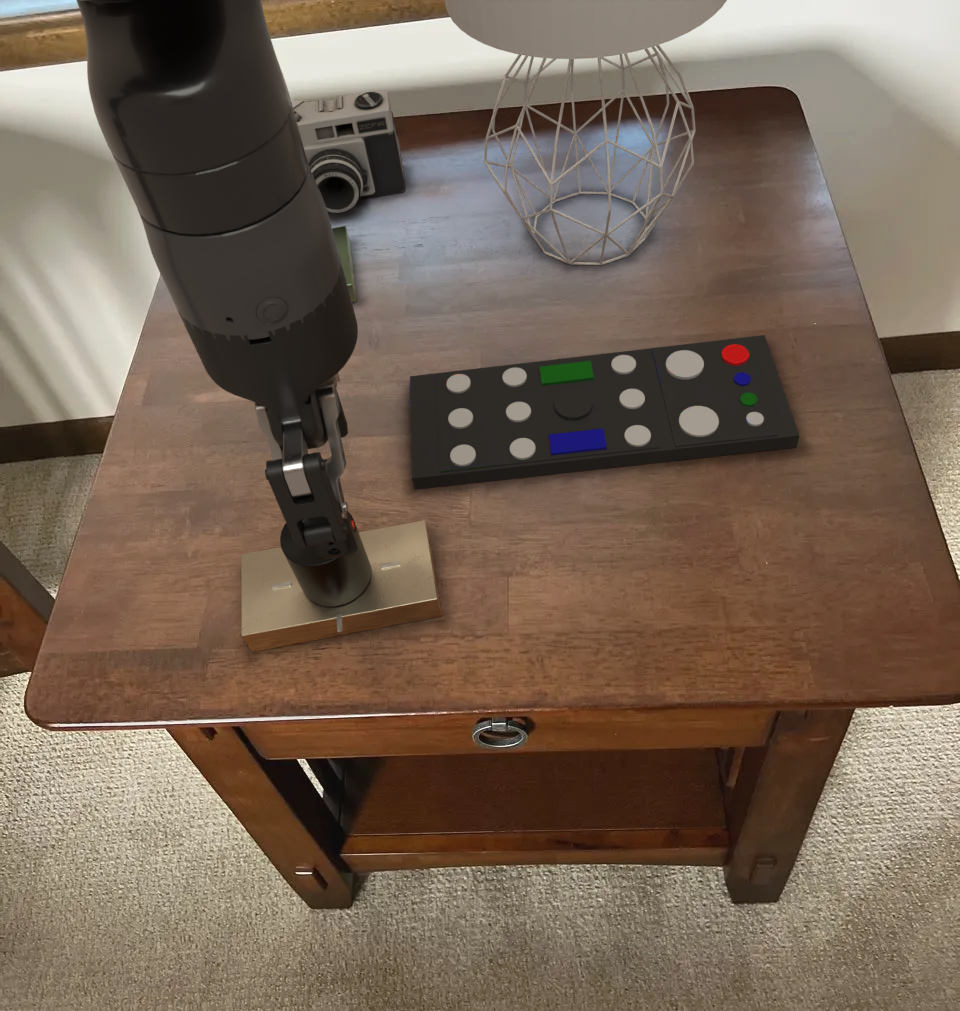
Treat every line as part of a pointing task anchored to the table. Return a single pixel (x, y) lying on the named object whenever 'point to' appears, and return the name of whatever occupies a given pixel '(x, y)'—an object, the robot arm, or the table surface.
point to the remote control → (598, 412)
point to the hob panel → (385, 602)
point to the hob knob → (328, 571)
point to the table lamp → (572, 35)
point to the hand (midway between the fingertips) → (335, 490)
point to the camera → (351, 147)
